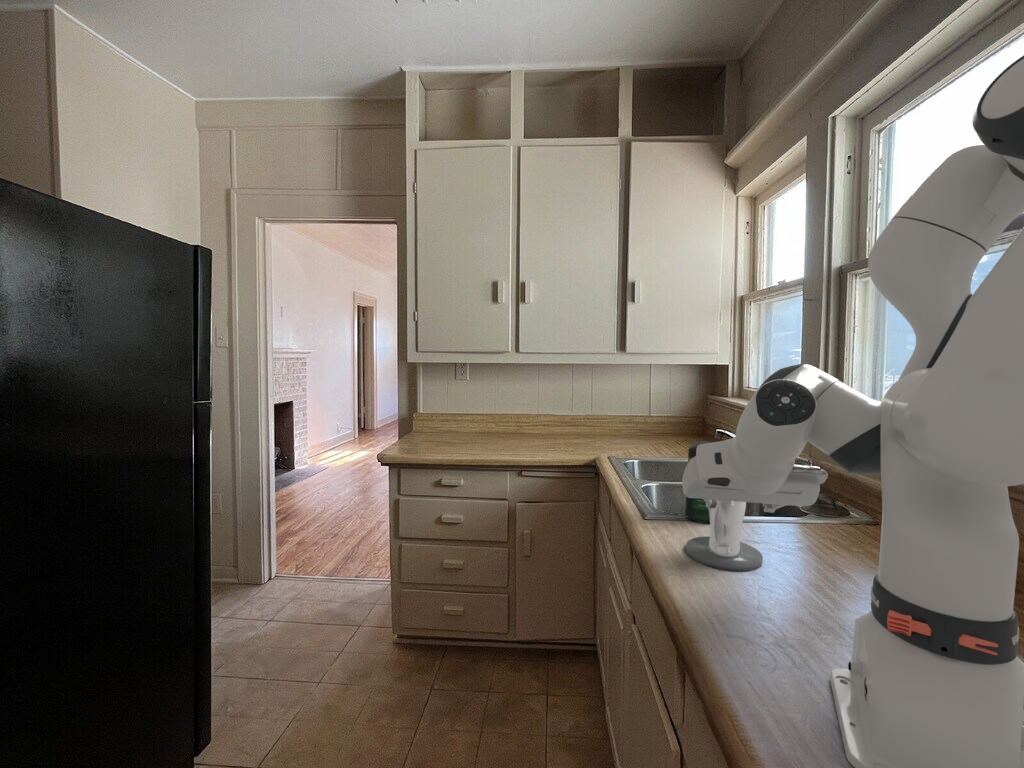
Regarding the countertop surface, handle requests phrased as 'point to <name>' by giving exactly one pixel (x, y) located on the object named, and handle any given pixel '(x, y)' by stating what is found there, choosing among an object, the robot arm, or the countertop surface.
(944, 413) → the robot arm
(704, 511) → the coffee jar
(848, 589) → the countertop surface
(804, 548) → the countertop surface
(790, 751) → the countertop surface
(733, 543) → the beer glass
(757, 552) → the coaster
